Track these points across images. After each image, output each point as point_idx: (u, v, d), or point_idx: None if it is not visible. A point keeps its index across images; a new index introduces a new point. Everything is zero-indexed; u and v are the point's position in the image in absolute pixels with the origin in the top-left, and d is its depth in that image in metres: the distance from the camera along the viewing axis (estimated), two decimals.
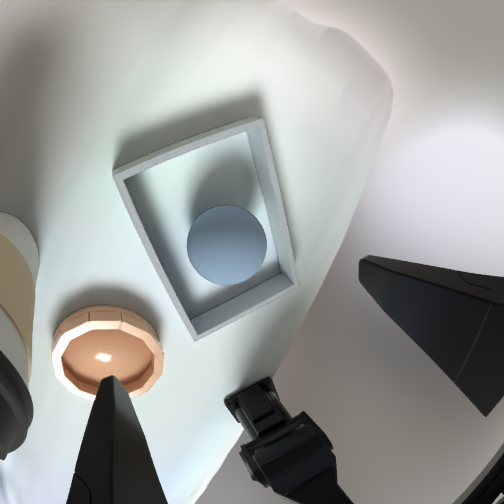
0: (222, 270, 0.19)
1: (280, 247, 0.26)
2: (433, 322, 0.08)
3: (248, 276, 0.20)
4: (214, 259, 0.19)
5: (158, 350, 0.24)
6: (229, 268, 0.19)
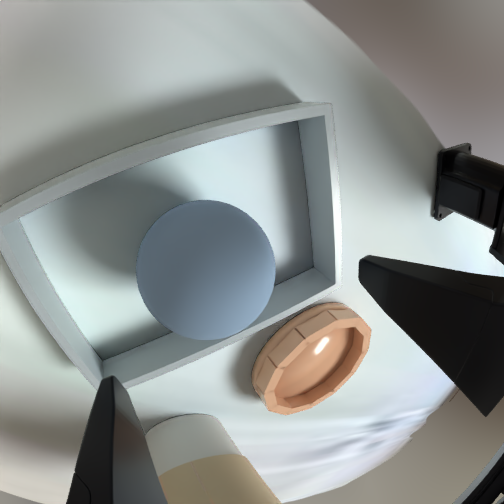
0: (238, 329, 0.11)
1: None
2: (433, 322, 0.08)
3: (265, 279, 0.11)
4: (217, 337, 0.11)
5: (330, 326, 0.19)
6: (237, 324, 0.11)
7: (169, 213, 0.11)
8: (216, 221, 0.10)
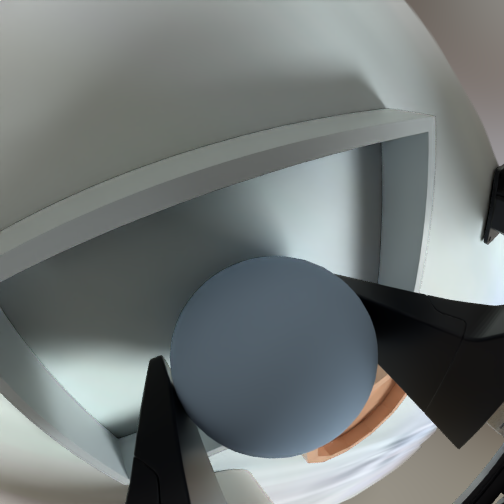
0: None
1: None
2: (399, 351, 0.07)
3: (374, 380, 0.06)
4: None
5: (387, 376, 0.15)
6: (330, 440, 0.06)
7: (227, 287, 0.07)
8: (317, 310, 0.06)
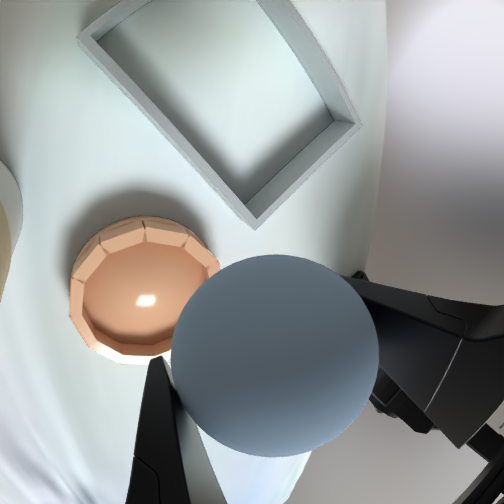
0: None
1: (322, 81, 0.17)
2: (399, 351, 0.07)
3: (374, 379, 0.06)
4: None
5: (209, 258, 0.18)
6: (331, 439, 0.06)
7: (228, 285, 0.07)
8: (318, 308, 0.06)
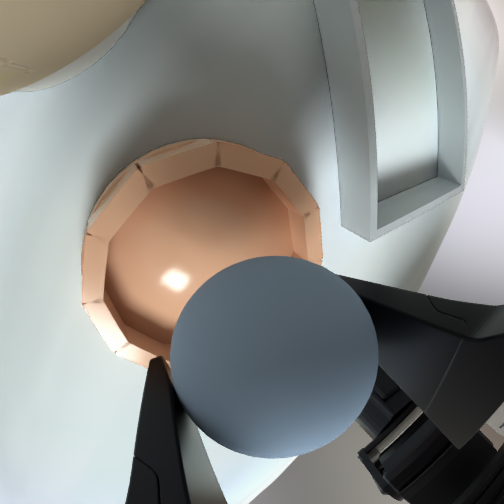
0: None
1: (450, 133, 0.16)
2: (399, 351, 0.07)
3: (374, 380, 0.06)
4: None
5: (318, 250, 0.13)
6: (330, 440, 0.06)
7: (227, 286, 0.07)
8: (317, 309, 0.06)
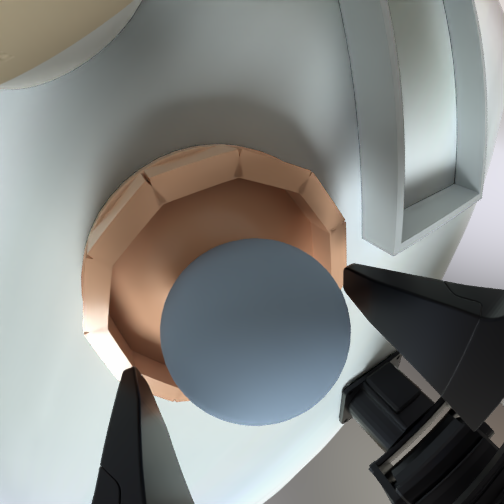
0: None
1: (470, 139, 0.15)
2: (419, 335, 0.08)
3: (345, 352, 0.07)
4: None
5: (342, 268, 0.12)
6: (306, 410, 0.07)
7: (209, 262, 0.07)
8: (286, 281, 0.07)
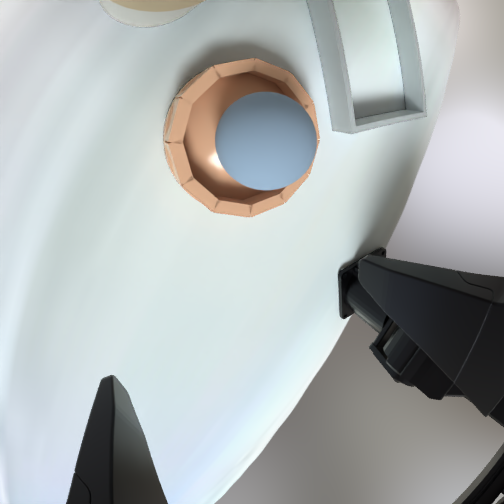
0: (296, 170, 0.15)
1: (410, 76, 0.22)
2: (433, 322, 0.08)
3: (313, 134, 0.15)
4: (280, 178, 0.15)
5: (316, 132, 0.19)
6: (296, 163, 0.14)
7: None
8: (279, 96, 0.14)
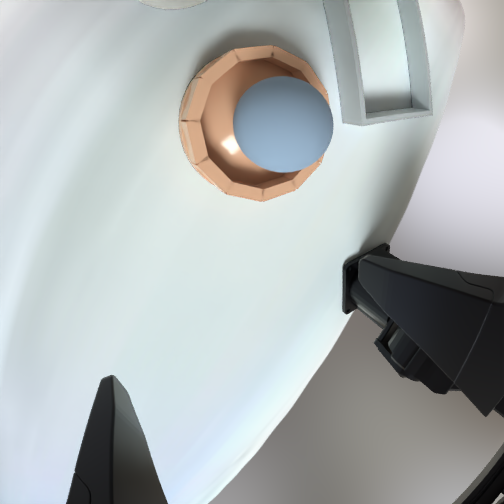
0: (314, 152, 0.15)
1: (418, 75, 0.22)
2: (433, 322, 0.08)
3: (330, 118, 0.14)
4: (298, 158, 0.15)
5: None
6: (315, 144, 0.14)
7: None
8: (298, 80, 0.14)
